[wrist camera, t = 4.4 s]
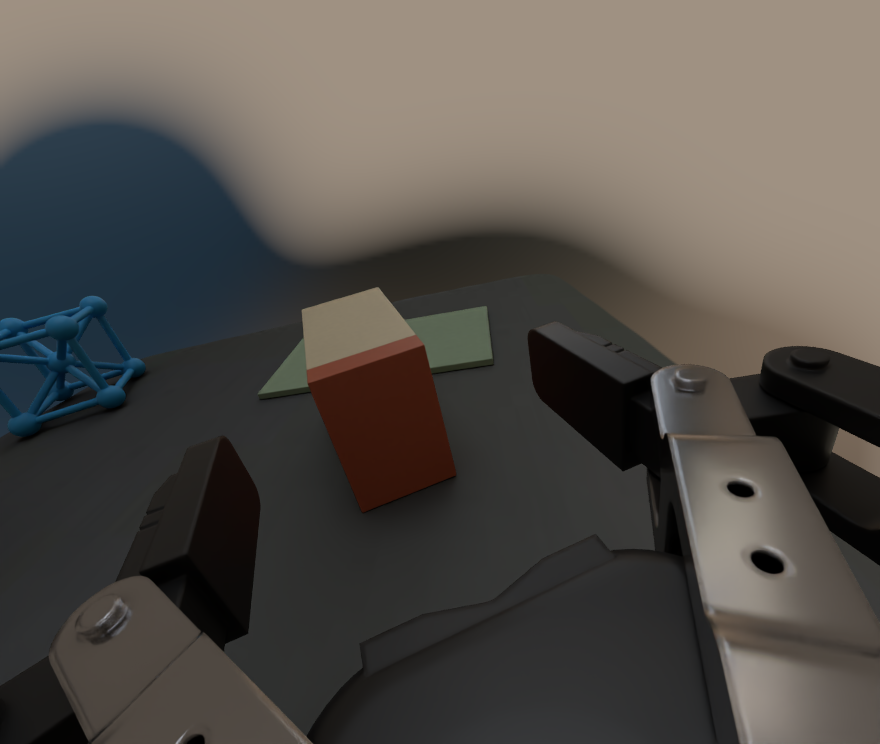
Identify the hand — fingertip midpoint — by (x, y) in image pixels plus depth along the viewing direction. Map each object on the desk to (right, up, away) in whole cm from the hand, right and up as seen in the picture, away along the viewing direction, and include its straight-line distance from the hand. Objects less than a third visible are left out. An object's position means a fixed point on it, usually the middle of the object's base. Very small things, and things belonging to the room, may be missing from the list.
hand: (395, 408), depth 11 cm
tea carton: (-3, 0, +15) cm, 16 cm away
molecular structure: (-37, -3, +34) cm, 50 cm away
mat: (-4, +3, +30) cm, 30 cm away
